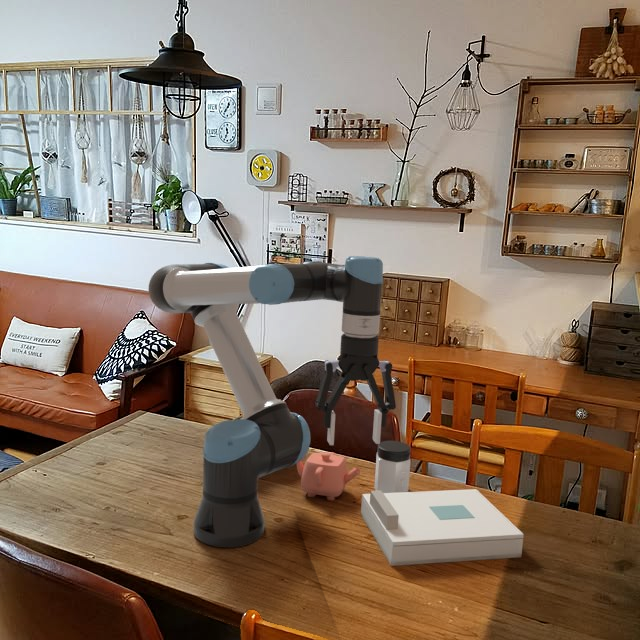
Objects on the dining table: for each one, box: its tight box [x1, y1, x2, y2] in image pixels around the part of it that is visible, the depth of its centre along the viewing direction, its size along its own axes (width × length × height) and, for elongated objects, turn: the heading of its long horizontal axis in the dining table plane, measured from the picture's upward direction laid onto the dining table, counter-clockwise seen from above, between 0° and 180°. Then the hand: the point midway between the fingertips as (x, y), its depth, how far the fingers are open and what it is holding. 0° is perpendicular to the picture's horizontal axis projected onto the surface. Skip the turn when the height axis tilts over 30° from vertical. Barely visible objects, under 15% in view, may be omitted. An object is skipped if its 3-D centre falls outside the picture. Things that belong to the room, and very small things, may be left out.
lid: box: [361, 488, 525, 546], centre depth 138 cm, size 28×22×4 cm
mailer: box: [360, 497, 524, 567], centre depth 139 cm, size 28×22×4 cm
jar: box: [374, 440, 412, 493], centre depth 159 cm, size 9×8×12 cm
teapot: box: [296, 451, 361, 501], centre depth 157 cm, size 14×12×10 cm
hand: (353, 442), depth 132 cm, fingers open, 9 cm apart
